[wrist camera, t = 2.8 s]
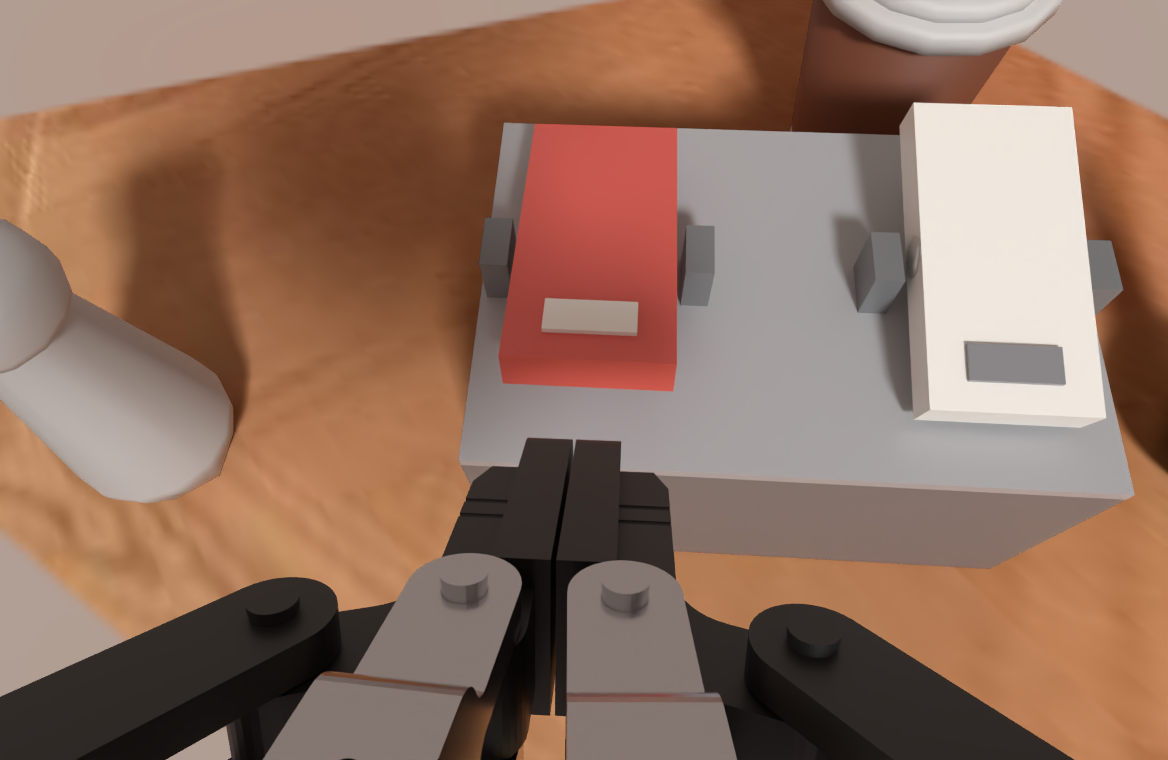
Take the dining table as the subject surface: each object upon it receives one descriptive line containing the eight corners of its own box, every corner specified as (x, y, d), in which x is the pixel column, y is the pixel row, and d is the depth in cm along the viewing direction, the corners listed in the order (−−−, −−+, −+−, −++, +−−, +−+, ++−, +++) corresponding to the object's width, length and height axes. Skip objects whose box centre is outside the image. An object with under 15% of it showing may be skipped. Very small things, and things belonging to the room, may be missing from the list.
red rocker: (674, 159, 26) (677, 123, 25) (673, 391, 21) (677, 360, 20) (537, 154, 26) (534, 119, 25) (502, 383, 21) (497, 351, 20)
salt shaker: (119, 388, 34) (-143, 186, 22) (258, 374, 34) (73, 166, 22) (97, 527, 31) (-211, 383, 19) (248, 511, 31) (32, 359, 20)
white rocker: (1050, 130, 24) (1075, 104, 23) (1080, 427, 22) (1109, 416, 21) (899, 126, 24) (915, 99, 23) (913, 419, 22) (932, 408, 21)
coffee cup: (991, 125, 38) (1142, -126, 28) (904, 260, 35) (1036, 37, 25) (818, 46, 41) (895, -214, 30) (722, 166, 38) (770, -75, 27)
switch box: (948, 286, 35) (1081, 99, 25) (989, 568, 30) (1177, 473, 20) (527, 269, 36) (497, 82, 26) (497, 540, 31) (447, 436, 21)
